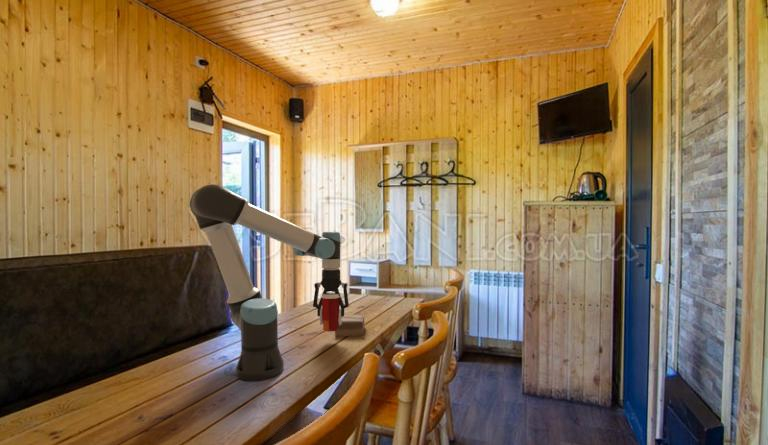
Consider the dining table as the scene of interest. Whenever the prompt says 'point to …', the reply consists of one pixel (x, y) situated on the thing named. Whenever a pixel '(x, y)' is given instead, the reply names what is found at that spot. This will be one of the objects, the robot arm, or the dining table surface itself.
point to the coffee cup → (330, 311)
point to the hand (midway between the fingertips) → (330, 324)
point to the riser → (351, 326)
